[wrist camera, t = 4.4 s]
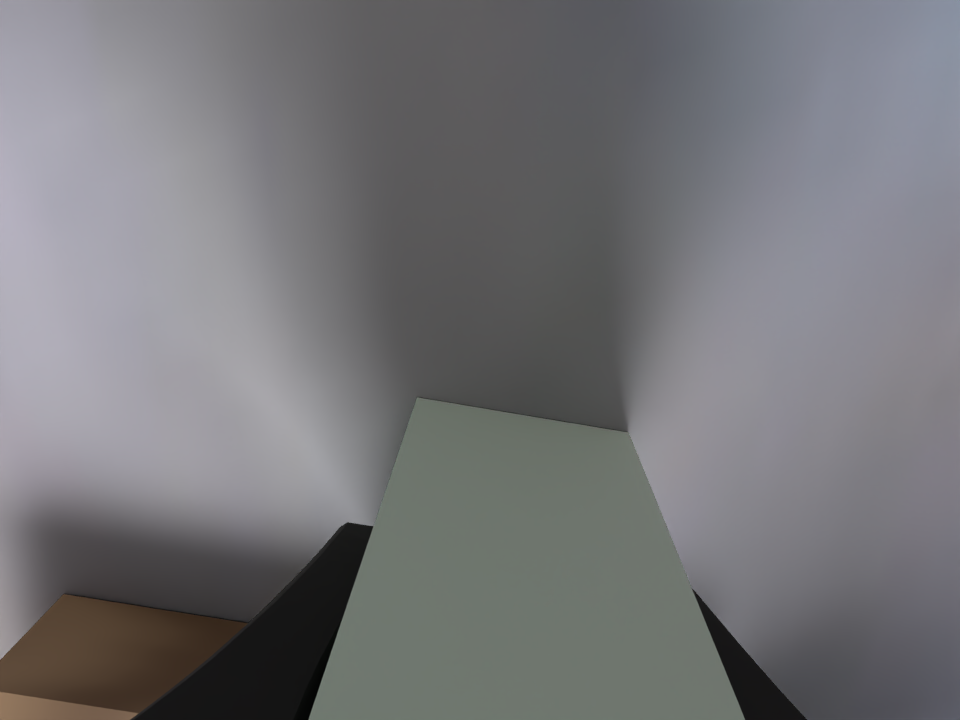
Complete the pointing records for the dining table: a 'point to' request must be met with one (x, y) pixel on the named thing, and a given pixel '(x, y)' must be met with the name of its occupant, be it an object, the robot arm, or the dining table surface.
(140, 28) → the dining table surface
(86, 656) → the socket block
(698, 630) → the square peg
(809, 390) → the dining table surface
